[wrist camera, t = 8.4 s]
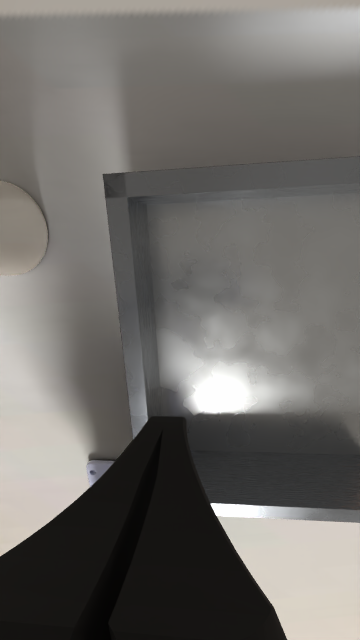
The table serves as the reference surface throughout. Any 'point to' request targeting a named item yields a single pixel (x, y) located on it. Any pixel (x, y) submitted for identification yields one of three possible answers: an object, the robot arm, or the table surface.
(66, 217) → the table surface
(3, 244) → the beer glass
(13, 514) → the table surface
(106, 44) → the table surface
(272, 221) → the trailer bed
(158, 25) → the table surface
